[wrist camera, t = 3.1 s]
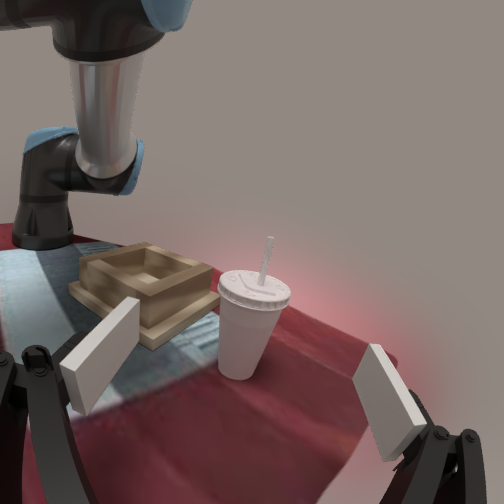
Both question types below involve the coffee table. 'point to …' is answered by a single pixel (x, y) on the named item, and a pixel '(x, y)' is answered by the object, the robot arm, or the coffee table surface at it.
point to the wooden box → (147, 288)
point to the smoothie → (248, 316)
